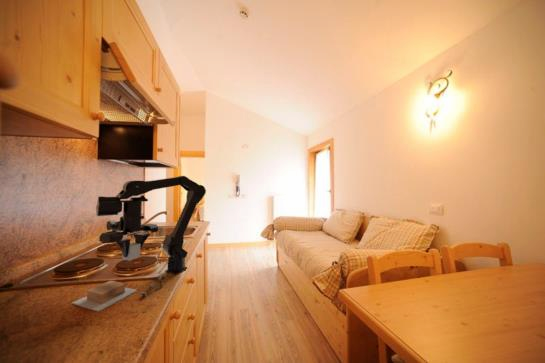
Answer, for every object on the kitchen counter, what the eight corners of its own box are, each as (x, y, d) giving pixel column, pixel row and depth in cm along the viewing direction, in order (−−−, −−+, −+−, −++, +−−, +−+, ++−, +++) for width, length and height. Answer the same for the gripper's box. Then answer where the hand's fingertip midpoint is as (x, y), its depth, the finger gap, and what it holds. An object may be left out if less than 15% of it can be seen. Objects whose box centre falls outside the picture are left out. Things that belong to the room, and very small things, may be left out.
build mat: (113, 285, 74) (113, 284, 74) (137, 291, 70) (137, 290, 70) (72, 303, 62) (72, 302, 62) (98, 311, 59) (98, 310, 59)
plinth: (110, 288, 71) (110, 280, 71) (124, 292, 68) (125, 283, 69) (87, 299, 64) (87, 290, 64) (101, 304, 62) (102, 294, 62)
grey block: (132, 255, 78) (132, 242, 78) (140, 256, 76) (140, 243, 77) (121, 259, 74) (122, 245, 74) (129, 260, 73) (130, 246, 73)
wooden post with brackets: (166, 282, 75) (163, 273, 73) (149, 302, 68) (144, 293, 66) (163, 282, 75) (159, 273, 74) (145, 301, 68) (140, 292, 67)
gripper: (139, 209, 87) (138, 245, 87) (89, 215, 69) (87, 261, 69) (159, 211, 83) (158, 248, 83) (111, 218, 66) (110, 265, 65)
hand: (131, 255), depth 75 cm, fingers closed on grey block, 4 cm apart
